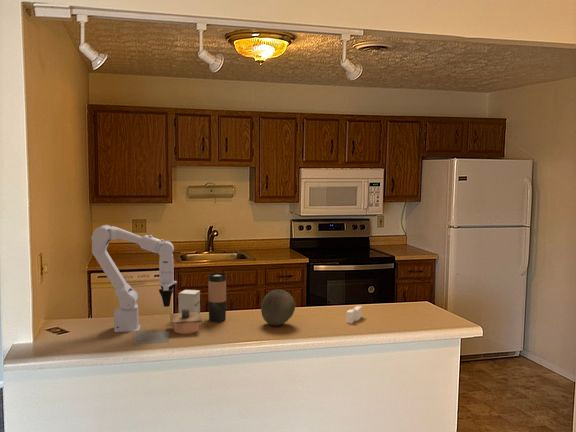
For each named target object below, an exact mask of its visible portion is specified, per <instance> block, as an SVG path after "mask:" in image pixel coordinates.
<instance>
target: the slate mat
mask: <svg viewBox="0 0 576 432" xmlns="http://www.w3.org/2000/svg"><path fill="white" fill-rule="evenodd" d="M170 334H171V331H150V332H149V331H148V332H136V334H135V335H134V339H133V342H132V345H135V344H138V345H139V344H160V343H162V344H163V343H169V340H170Z"/></svg>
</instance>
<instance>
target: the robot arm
mask: <svg viewBox="0 0 576 432" xmlns="http://www.w3.org/2000/svg"><path fill="white" fill-rule="evenodd" d="M118 239H119V240H122V241H123V240H124V241H127V242H130V243H134V244H137V245H139V246H140V248H141V249H142V250H145V251H148V252H152V253H153V254H158V255H159V260H158V262H159V265H158V267H159V271H158V272H159V278H158V279H159V281H158V285H160V289H158V291H159V294H160V296H161V299H162V304H163V305H162V306H163V307H164V308H167V307H169V308H170V306H171V300H172V296H173V295H172V294H173V292H174V287H175V284H178V281H177V280H175V279H174V278H175V277H174V276H175V275H174V273H175V268H174V267H175V265H174V262H175V261H174V254H173V253H174V251H175V246H174V244H173V243H172V242H171V241H169V240H165V239H163V238H161V239H159V238H157V237H154V235H152V234H149V235H148V234H145V235H144V236H142V235H141V236H140V235H138V234H136V233H133V232H131V231H128V230H126V229H123V228H120V227H117V226H114V225H112V226H111V225H109V224H103V225H101V226H99V227H97V228H95V230H94V231H93V233H92V235H91V253H92V255H93V257H94V258H95V259H96V262H97V263H98V264H99V266H100V268H101V269H102V271H103V272H104V274H105V276H106V278H107V279H108V280H109V282H110V283H111V285H112V287H113V288H114V290H115V296H116V297H117V299H118V304H119V308H118V307H117V308H115V309H114V312H113V322H114V323H113V325H114V326H113V327H114V328H113V329H114V333H119V332H121V333H122V332H125V333H126V332H138V331H140V328H141V324H139V305H138V303H137V302H138V301H139V297H140V296H139V295H140V294H139V292H138V291H136V290H135V289H134V288H132V286H131V285H130V284H129V283H128V282H127V281H126V279H125V278H124V276H123V275H122V273H121V272H120V270H119V268H118V267H117V265H116V263H115V262H114V260H113V259H112V257H111V256H110V254H109V252H108V250H107V249H108V246H109V243H110V241H114V240H118Z"/></svg>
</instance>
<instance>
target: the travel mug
mask: <svg viewBox="0 0 576 432" xmlns="http://www.w3.org/2000/svg"><path fill="white" fill-rule="evenodd" d="M207 294H208V319H209V322H214V323H222V322H225V320H226V316H227V315H226V314H227V273H224V272H213V273H212V272H211V273H209V274H208V293H207Z"/></svg>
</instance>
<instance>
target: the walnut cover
mask: <svg viewBox="0 0 576 432" xmlns="http://www.w3.org/2000/svg"><path fill="white" fill-rule="evenodd" d="M169 317H170V325H174V324H182V323H199V324H200V323H202V322H203V319H202V315H201V311H200V312H193V313H189V309H182V313H179V312H176V313H169Z"/></svg>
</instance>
